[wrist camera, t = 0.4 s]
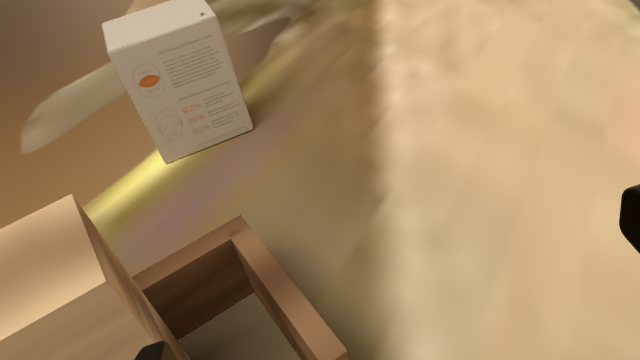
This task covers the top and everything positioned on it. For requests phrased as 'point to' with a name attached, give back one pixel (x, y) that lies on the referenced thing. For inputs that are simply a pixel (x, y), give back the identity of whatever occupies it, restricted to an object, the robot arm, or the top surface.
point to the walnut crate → (234, 289)
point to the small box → (178, 76)
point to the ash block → (70, 293)
